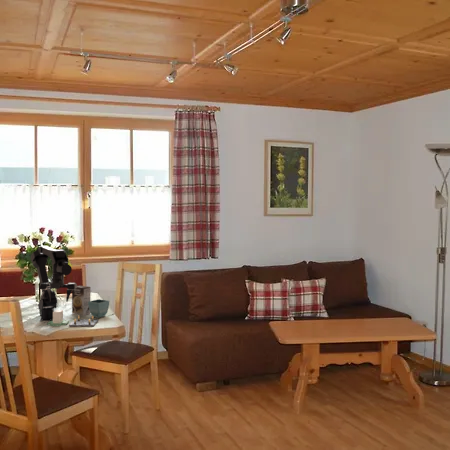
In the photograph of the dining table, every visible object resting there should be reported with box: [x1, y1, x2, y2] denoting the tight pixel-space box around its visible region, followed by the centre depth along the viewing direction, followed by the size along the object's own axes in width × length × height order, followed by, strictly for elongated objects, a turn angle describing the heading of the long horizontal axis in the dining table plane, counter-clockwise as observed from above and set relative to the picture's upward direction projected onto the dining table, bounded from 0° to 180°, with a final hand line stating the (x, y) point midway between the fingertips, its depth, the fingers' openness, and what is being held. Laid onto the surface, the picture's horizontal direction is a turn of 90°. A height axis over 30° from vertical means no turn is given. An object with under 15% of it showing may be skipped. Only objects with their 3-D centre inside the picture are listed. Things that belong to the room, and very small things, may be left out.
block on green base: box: [46, 309, 70, 327], centre depth 299 cm, size 10×10×7 cm
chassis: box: [68, 315, 99, 328], centre depth 299 cm, size 13×13×4 cm
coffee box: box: [71, 285, 91, 316], centre depth 326 cm, size 9×6×16 cm
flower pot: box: [88, 298, 110, 318], centre depth 318 cm, size 9×9×9 cm
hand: (58, 301), depth 299 cm, fingers open, 9 cm apart
